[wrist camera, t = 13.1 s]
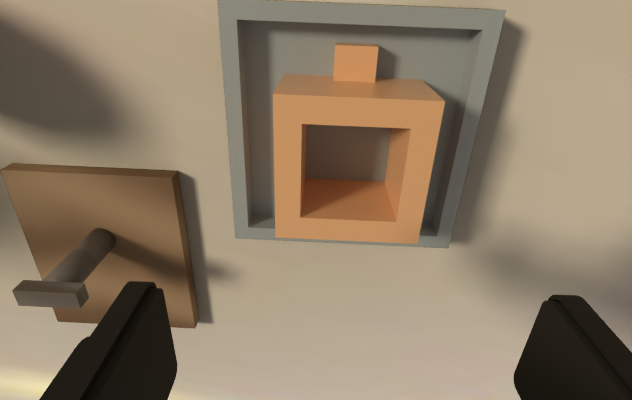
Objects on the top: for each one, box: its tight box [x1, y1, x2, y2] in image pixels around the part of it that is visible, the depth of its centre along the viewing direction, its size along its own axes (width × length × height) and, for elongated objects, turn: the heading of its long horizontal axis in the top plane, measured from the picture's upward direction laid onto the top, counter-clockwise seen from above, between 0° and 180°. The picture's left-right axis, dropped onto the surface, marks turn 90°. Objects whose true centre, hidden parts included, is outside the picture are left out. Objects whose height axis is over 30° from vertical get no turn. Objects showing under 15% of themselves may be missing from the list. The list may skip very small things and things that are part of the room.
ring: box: [273, 42, 445, 244], centre depth 19 cm, size 9×7×4 cm
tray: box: [217, 0, 506, 248], centre depth 21 cm, size 13×13×2 cm
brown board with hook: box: [0, 163, 199, 328], centre depth 23 cm, size 12×10×6 cm
